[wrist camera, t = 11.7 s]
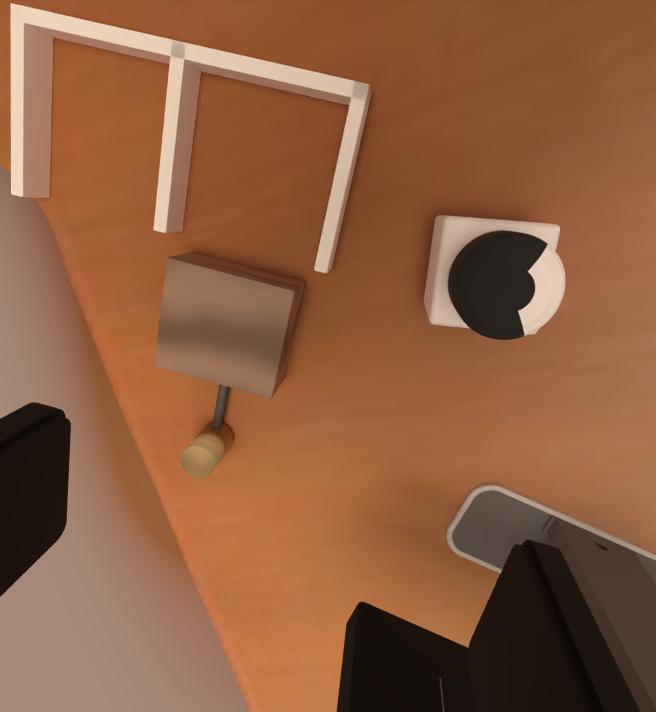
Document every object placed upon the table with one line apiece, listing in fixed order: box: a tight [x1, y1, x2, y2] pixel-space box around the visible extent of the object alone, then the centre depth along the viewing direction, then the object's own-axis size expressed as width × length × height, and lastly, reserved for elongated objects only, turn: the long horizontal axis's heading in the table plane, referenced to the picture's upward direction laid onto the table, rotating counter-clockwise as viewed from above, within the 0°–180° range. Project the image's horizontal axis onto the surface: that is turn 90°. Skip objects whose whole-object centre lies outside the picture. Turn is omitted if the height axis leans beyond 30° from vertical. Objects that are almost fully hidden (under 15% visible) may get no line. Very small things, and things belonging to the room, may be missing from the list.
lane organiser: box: [11, 3, 371, 273], centre depth 35 cm, size 13×26×3 cm, turn 77°
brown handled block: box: [154, 252, 306, 478], centre depth 39 cm, size 18×10×5 cm, turn 167°
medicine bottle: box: [423, 215, 565, 340], centre depth 31 cm, size 7×7×12 cm
